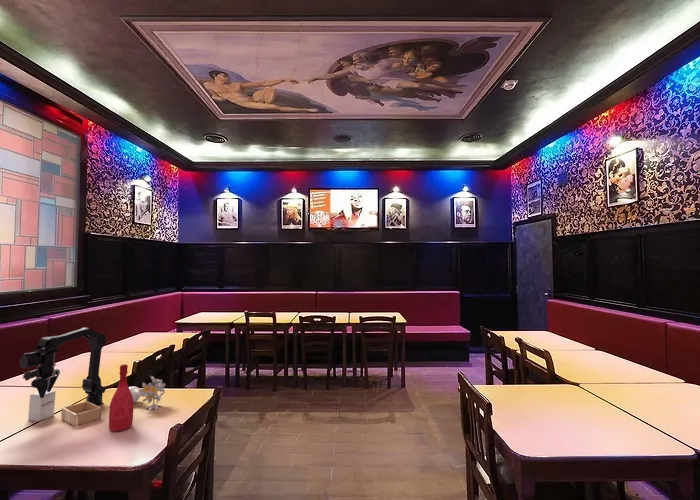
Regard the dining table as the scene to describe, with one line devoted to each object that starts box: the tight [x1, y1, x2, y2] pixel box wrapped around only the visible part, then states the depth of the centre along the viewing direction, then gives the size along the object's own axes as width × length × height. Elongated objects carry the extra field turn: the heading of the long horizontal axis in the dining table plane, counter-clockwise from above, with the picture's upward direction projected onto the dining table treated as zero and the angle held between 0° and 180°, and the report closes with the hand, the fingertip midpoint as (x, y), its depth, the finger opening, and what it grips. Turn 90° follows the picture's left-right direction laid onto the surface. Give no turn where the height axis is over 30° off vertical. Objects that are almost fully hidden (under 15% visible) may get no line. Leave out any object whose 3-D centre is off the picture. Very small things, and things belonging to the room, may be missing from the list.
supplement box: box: [27, 390, 56, 422], centre depth 180 cm, size 7×7×13 cm
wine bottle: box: [108, 364, 135, 433], centre depth 170 cm, size 10×10×30 cm
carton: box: [63, 400, 102, 427], centre depth 180 cm, size 10×16×6 cm, turn 58°
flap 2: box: [67, 411, 77, 427], centre depth 173 cm, size 1×8×5 cm, turn 58°
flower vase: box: [128, 375, 166, 411], centre depth 199 cm, size 13×18×25 cm
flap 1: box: [60, 407, 70, 423], centre depth 177 cm, size 1×7×5 cm, turn 58°
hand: (45, 394), depth 175 cm, fingers open, 9 cm apart
